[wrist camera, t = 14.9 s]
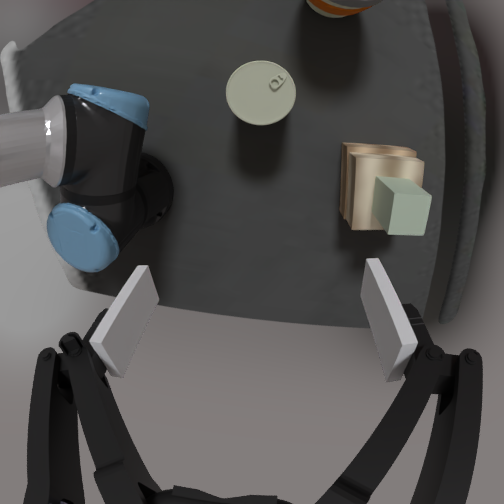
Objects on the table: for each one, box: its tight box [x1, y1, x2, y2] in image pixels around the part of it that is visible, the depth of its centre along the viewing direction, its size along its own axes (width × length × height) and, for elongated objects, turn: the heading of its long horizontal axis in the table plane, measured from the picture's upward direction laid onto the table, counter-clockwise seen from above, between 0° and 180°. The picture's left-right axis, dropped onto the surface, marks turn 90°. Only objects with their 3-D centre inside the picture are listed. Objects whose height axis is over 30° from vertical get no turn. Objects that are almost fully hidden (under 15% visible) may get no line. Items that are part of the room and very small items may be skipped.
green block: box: [372, 176, 432, 235], centre depth 38 cm, size 6×6×8 cm
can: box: [226, 61, 296, 125], centre depth 38 cm, size 9×9×12 cm
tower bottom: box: [339, 143, 417, 219], centre depth 47 cm, size 13×13×4 cm
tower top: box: [346, 152, 424, 230], centre depth 43 cm, size 12×12×4 cm
